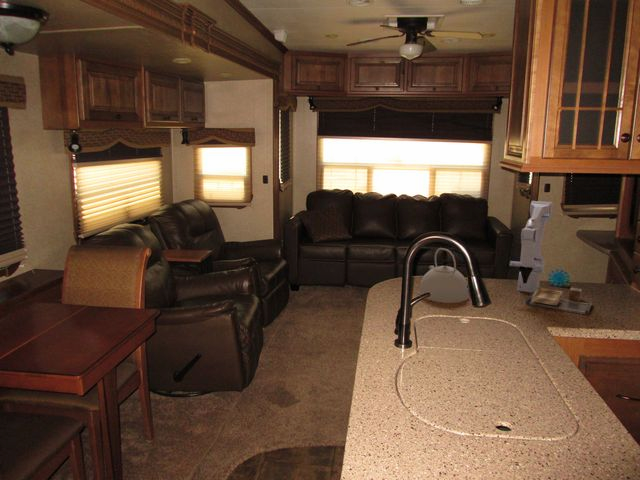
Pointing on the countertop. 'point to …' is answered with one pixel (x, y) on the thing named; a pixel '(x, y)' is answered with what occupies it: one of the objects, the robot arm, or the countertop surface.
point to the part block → (575, 294)
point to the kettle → (444, 283)
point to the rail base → (564, 306)
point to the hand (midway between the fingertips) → (524, 282)
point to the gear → (559, 278)
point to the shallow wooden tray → (547, 296)
